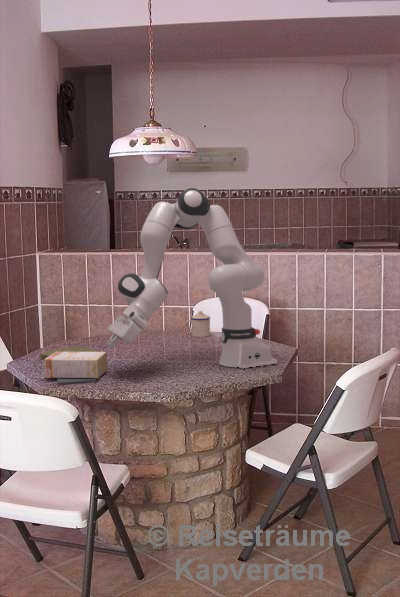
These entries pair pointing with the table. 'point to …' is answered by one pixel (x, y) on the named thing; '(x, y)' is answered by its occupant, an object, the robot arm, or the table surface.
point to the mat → (74, 380)
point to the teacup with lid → (199, 325)
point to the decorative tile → (68, 349)
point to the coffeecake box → (75, 364)
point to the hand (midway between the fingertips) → (108, 346)
